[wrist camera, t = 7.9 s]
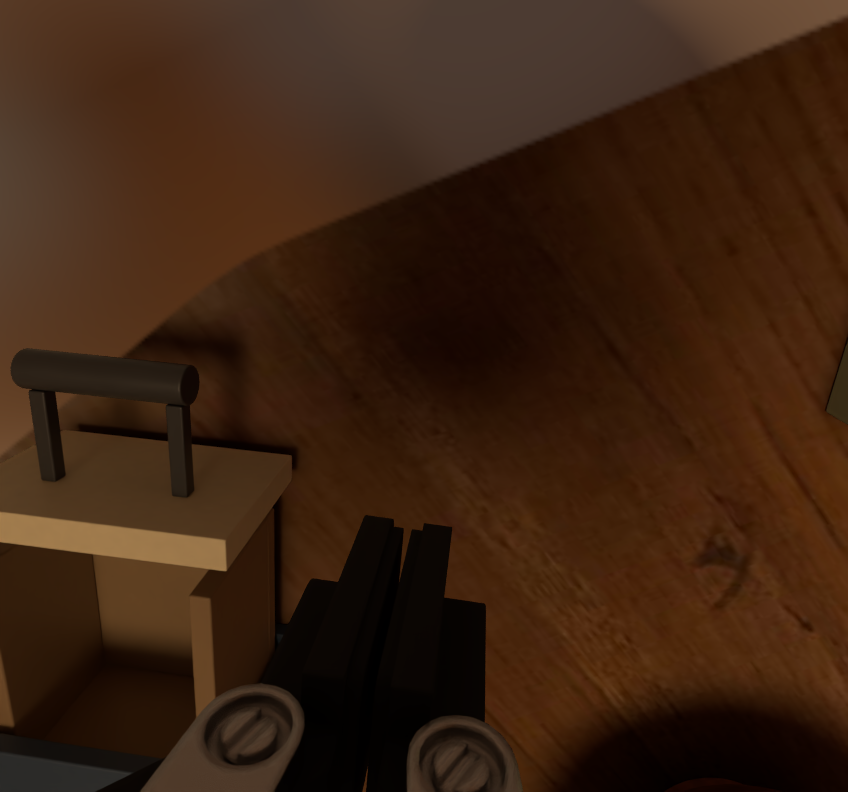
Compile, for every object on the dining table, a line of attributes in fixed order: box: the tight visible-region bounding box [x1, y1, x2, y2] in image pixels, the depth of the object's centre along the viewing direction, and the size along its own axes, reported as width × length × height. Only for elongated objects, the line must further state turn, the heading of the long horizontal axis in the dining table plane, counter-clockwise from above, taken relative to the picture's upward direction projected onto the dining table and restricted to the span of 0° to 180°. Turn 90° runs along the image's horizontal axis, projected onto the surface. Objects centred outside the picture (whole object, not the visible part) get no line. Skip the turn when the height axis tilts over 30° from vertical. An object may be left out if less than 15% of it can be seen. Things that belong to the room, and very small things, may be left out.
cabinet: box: [0, 623, 288, 792], centre depth 28 cm, size 14×12×9 cm
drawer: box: [0, 348, 292, 758], centre depth 24 cm, size 17×10×7 cm, turn 176°
